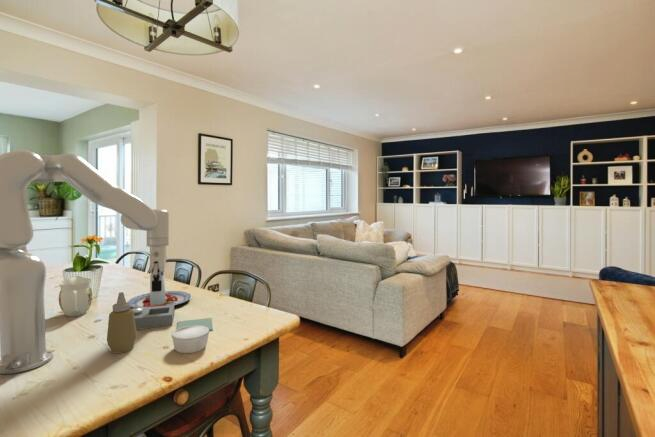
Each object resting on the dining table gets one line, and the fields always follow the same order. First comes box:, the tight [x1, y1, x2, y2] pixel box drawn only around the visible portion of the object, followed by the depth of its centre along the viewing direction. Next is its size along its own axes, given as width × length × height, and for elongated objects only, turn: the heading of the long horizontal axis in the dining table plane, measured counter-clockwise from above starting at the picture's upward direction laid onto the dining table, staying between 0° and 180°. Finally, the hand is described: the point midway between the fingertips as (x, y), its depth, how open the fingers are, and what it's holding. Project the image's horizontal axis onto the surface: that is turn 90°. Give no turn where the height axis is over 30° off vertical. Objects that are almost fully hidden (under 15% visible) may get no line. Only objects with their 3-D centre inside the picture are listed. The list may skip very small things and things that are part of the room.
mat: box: [176, 317, 214, 332], centre depth 125 cm, size 12×12×1 cm
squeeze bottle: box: [106, 292, 138, 354], centre depth 105 cm, size 8×8×18 cm
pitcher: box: [58, 275, 93, 317], centre depth 135 cm, size 11×18×14 cm, turn 34°
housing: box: [134, 305, 175, 330], centre depth 128 cm, size 16×12×4 cm
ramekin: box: [171, 325, 210, 354], centre depth 107 cm, size 11×11×5 cm
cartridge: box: [149, 271, 166, 305], centre depth 128 cm, size 5×5×12 cm
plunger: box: [131, 307, 143, 315], centre depth 126 cm, size 4×4×4 cm
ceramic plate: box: [127, 290, 192, 309], centre depth 152 cm, size 26×26×3 cm
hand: (157, 288), depth 128 cm, fingers closed on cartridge, 5 cm apart
